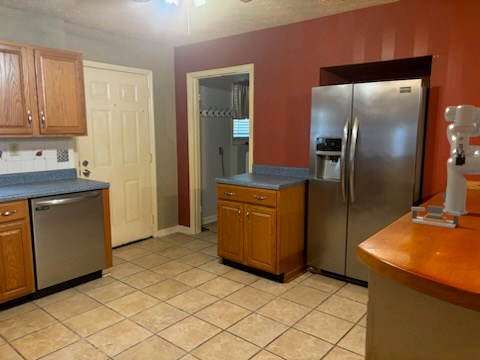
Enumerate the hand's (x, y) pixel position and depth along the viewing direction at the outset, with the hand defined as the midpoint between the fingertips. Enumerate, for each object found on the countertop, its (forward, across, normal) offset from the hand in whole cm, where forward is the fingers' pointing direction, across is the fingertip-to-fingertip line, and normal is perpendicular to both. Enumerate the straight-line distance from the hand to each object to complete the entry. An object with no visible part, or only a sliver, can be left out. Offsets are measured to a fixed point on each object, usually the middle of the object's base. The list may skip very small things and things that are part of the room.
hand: (460, 164), depth 178 cm
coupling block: (+27, -14, +8) cm, 31 cm away
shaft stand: (+28, -14, +8) cm, 32 cm away
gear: (+29, +43, +7) cm, 52 cm away
